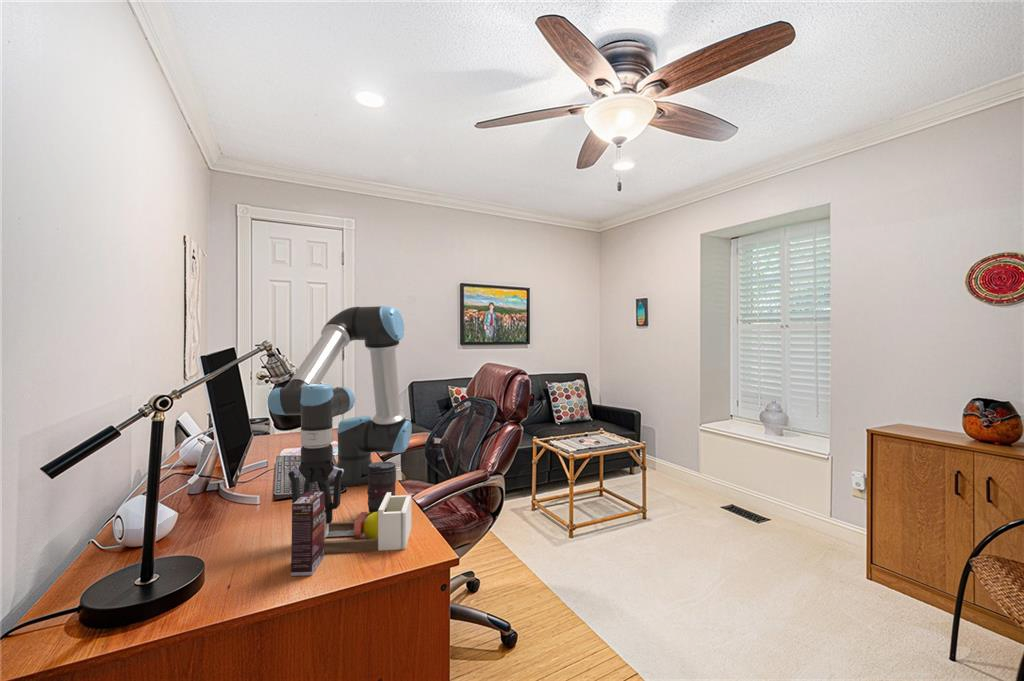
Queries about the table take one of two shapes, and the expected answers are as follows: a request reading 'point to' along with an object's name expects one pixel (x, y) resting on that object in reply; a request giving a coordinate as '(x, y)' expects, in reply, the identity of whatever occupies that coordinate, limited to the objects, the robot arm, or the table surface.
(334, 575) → the table surface
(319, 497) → the supplement box
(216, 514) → the table surface
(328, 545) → the rails
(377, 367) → the robot arm
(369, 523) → the tennis ball
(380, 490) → the camera lens
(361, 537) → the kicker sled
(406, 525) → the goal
